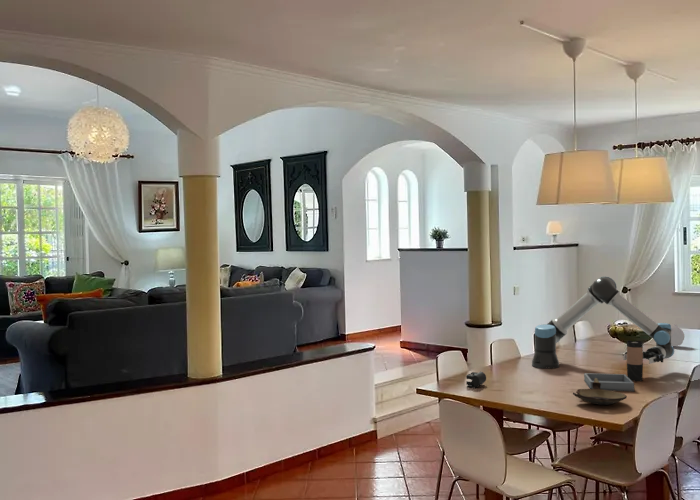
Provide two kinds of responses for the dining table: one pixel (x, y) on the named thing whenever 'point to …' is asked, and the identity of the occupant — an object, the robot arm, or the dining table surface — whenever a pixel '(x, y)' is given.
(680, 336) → the decorative ball
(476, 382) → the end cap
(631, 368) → the travel mug
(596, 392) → the oil lamp
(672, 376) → the dining table surface
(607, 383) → the parts tray
